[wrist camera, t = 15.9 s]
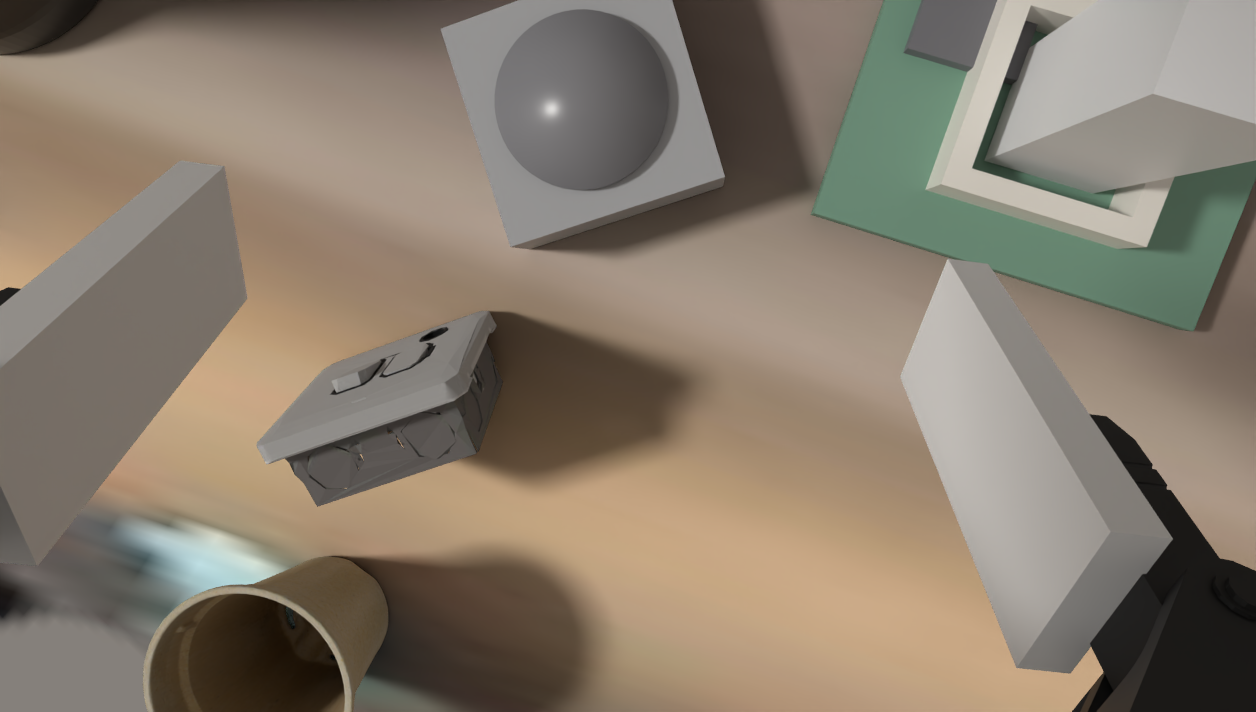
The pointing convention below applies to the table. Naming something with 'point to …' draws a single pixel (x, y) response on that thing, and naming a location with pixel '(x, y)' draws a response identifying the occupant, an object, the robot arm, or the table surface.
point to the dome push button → (582, 112)
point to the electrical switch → (390, 411)
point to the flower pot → (269, 643)
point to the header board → (1002, 197)
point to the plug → (1134, 95)
